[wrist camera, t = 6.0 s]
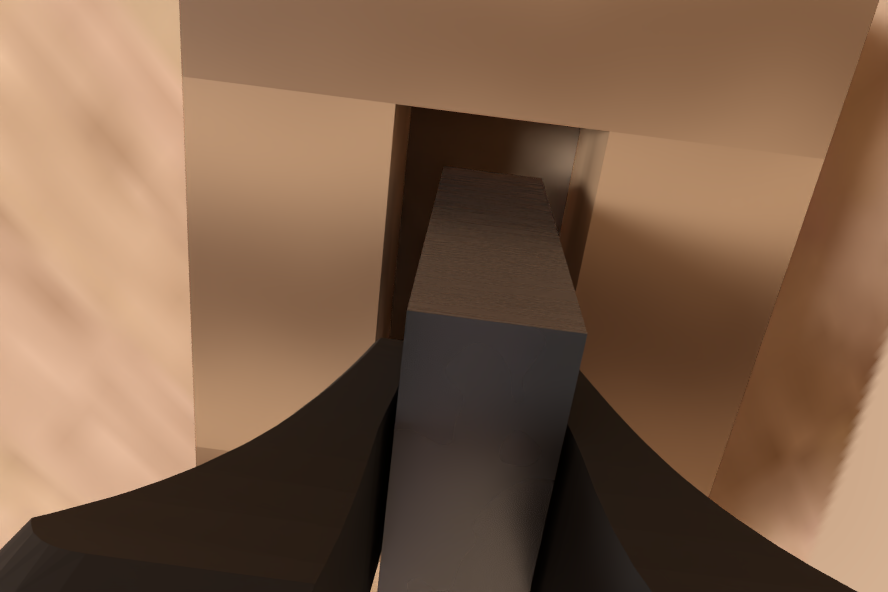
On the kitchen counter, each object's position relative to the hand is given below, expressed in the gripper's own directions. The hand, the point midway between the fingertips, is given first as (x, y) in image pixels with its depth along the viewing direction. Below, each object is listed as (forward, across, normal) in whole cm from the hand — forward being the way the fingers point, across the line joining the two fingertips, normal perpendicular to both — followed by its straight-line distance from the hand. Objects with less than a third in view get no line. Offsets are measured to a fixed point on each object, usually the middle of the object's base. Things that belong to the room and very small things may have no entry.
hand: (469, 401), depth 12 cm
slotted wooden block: (+7, 0, 0) cm, 7 cm away
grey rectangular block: (+4, 0, 0) cm, 4 cm away
